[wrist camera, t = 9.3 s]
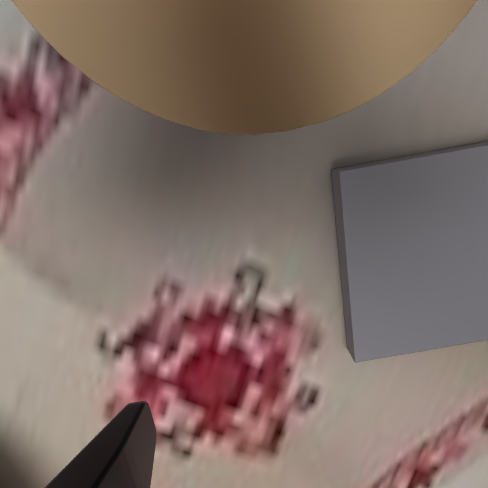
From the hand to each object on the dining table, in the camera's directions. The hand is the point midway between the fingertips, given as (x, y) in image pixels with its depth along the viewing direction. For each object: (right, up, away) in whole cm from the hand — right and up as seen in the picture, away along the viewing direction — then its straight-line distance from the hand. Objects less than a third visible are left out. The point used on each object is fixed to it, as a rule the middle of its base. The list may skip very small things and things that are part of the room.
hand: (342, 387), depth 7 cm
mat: (+10, +3, +13) cm, 16 cm away
